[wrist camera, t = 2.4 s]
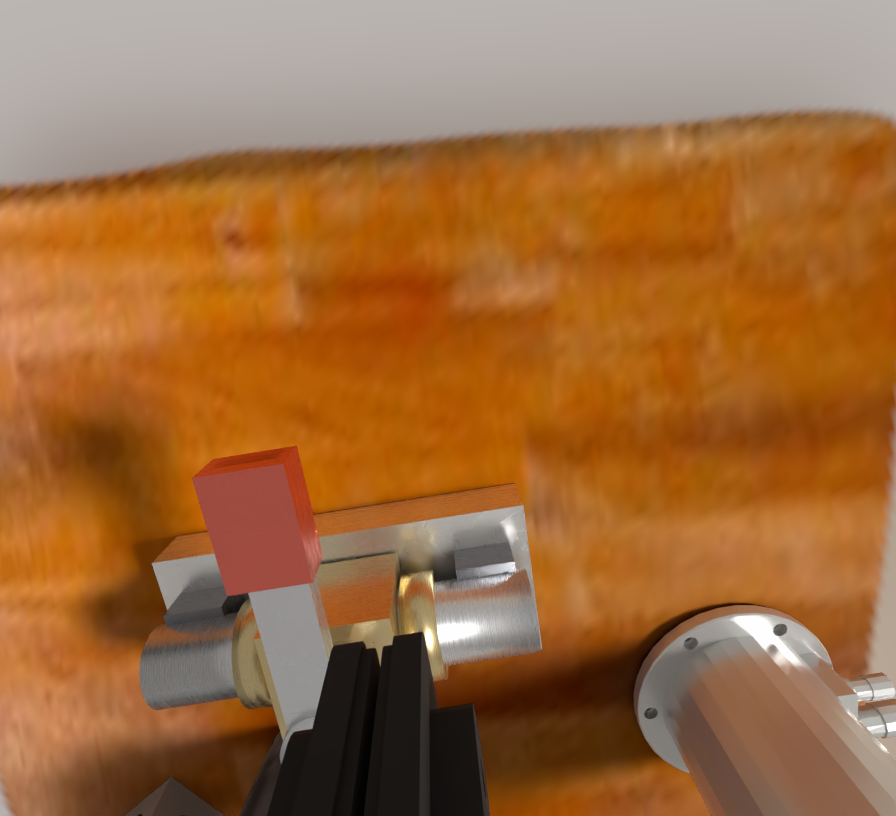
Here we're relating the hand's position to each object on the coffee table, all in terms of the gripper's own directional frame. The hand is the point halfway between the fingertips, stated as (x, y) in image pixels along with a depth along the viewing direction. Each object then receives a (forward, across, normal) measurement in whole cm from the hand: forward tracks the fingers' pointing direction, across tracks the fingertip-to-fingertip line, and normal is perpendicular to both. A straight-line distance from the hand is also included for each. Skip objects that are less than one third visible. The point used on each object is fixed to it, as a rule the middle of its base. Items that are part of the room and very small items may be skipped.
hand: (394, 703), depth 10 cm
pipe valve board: (+21, +5, +10) cm, 24 cm away
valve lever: (+10, +5, +5) cm, 12 cm away
